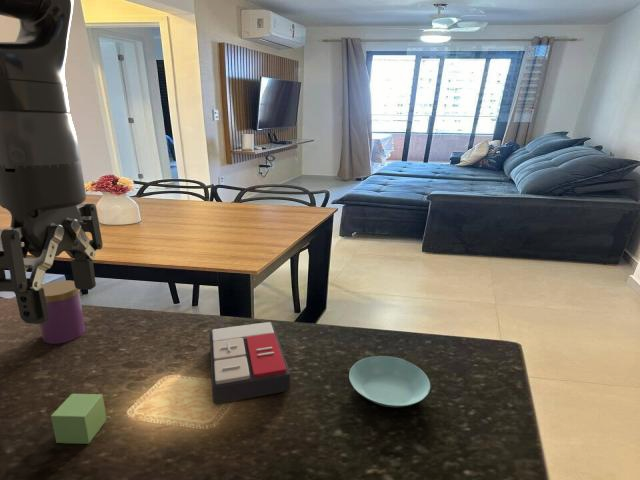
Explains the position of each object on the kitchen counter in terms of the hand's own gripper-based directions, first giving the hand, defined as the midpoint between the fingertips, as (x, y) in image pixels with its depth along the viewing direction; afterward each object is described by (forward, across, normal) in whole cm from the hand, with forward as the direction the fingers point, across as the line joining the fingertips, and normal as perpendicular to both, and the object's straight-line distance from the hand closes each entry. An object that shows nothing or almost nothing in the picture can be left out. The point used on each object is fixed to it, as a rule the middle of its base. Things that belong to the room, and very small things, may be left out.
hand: (63, 303), depth 43 cm
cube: (+18, 0, 0) cm, 18 cm away
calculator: (+18, -13, +18) cm, 28 cm away
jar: (+17, -22, -17) cm, 33 cm away
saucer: (+18, -9, +40) cm, 44 cm away
